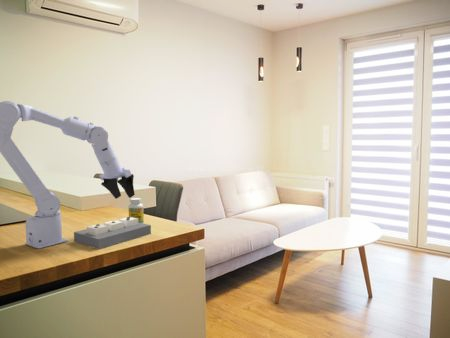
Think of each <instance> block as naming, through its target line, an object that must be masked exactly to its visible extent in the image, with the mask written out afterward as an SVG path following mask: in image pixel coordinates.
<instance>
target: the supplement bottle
mask: <svg viewBox="0 0 450 338" xmlns="http://www.w3.org/2000/svg"><path fill="white" fill-rule="evenodd" d="M129 203H130V204H129V205H128V217H133V218H138V222H139V223H143V224H145V219H144V204H143V203H142V198H140V197H133V198H132V197H131V198H130V199H129Z"/></svg>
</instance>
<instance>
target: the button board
mask: <svg viewBox="0 0 450 338" xmlns="http://www.w3.org/2000/svg"><path fill="white" fill-rule="evenodd" d="M151 234H152V227H151V224H147V223H139V222H138V225H135V226H131V227H124V228H123V229H119V230H115V231H108V233H104V234H100V235H96V236H94V235H90V234H87V228H85V229H81V230H78V231H74V232H73V241H74V242H75V243H78V244H81V245H84V246H87V247H91V248H94V249H97V250H102V249H105V248H108V247H112V246H115V245H118V244H122V243H124V242H128V241H131V240H134V239H135V240H136V239H138V238H141V237H145V236H148V235H151Z"/></svg>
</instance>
